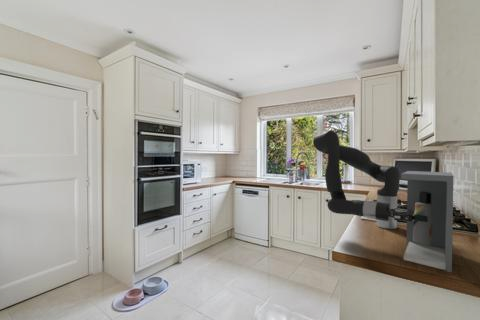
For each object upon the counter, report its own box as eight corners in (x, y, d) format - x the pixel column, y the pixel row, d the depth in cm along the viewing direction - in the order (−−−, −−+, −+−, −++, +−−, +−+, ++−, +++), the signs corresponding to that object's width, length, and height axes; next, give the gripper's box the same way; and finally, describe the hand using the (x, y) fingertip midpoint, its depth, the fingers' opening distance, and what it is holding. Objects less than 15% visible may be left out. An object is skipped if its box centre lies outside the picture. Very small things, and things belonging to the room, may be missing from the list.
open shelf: (406, 242, 101) (408, 171, 100) (449, 251, 92) (451, 172, 91) (400, 259, 84) (401, 173, 84) (451, 272, 75) (453, 175, 74)
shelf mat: (409, 245, 98) (409, 241, 98) (444, 252, 91) (444, 248, 91) (403, 259, 84) (403, 255, 84) (445, 270, 76) (445, 265, 76)
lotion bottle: (430, 243, 89) (434, 192, 90) (431, 246, 85) (435, 192, 86) (412, 239, 93) (416, 190, 94) (412, 242, 88) (416, 190, 89)
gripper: (372, 204, 93) (427, 211, 82) (379, 199, 104) (428, 205, 92) (372, 222, 93) (426, 232, 82) (379, 216, 104) (428, 224, 92)
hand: (427, 218), depth 87 cm, fingers closed on lotion bottle, 2 cm apart
